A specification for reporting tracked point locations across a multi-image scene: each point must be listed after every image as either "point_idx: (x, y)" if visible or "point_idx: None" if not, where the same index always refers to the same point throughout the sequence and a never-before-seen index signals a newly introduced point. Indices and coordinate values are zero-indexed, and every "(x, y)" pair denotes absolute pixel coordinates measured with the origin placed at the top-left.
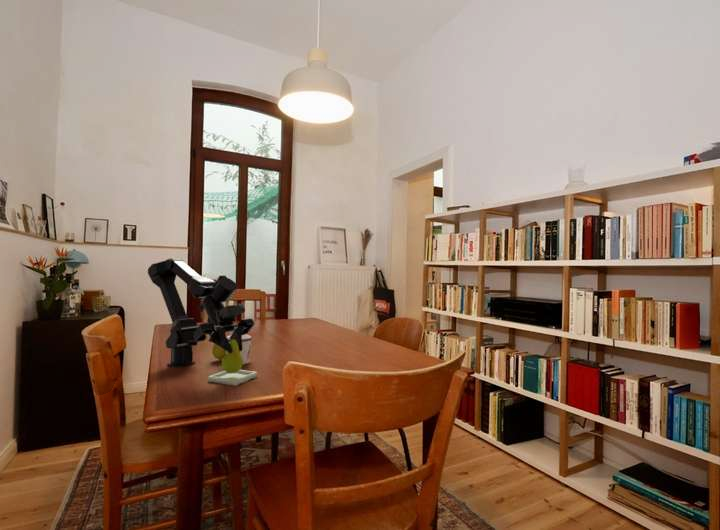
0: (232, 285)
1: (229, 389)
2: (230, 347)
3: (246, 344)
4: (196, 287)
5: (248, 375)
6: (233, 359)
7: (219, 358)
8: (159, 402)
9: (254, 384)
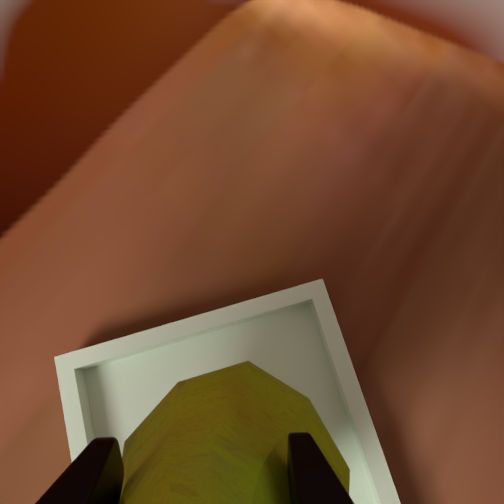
0: None
1: (387, 257)
2: (314, 480)
3: None
4: None
5: (169, 326)
6: (281, 398)
7: None
8: None
9: (208, 223)
